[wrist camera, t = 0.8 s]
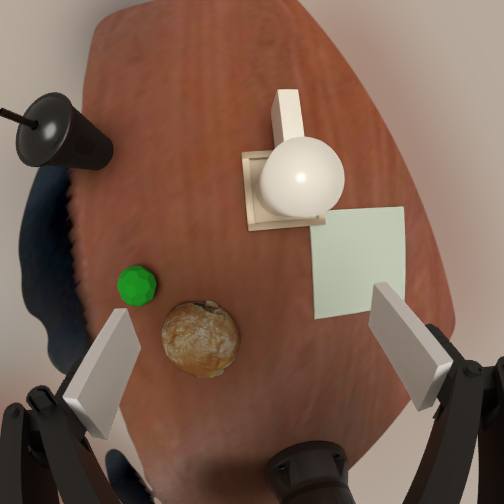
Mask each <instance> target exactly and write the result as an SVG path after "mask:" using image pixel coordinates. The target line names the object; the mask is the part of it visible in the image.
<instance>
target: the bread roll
mask: <svg viewBox="0 0 504 504" xmlns="http://www.w3.org/2000/svg"><path fill="white" fill-rule="evenodd" d="M162 342H163V346H164V349H165V352H166V355H167V357H168V358H169V360H170V361H171V362H172V363H173V364H174V365H175V366H176V367H177V368H178V369H179V370H181V371H183V372H185V373H188V374H190V375H192V376H194V377H196V378H213V377H214V376H219V375H220V374H222V373H223V372H224V371H225V369H224V368H225V367H227V366H229V365H230V364H231V363H232V362H233V360H234V359H235V358H236V353H237V351H238V348H239V343H240V335H239V332H238V330H237V328H236V325H235V323H234V321H233V320H232V318H231V317H230V315H229V314H228V313H227V312H226V311H224V310H223V309H222V308H221V307H220V308H219V307H218V305H217V304H216V303H214V302H212V301H207V300H206V302H205V303H202V302H192V303H189V302H187V303H184V304H180V305H178V306H176V307H175V308H174V309H172V310H171V311H170V313H169V314H168V315H167V317H166V319H165V321H164V324H163V327H162Z"/></svg>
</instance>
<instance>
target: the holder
mask: <svg viewBox="0 0 504 504" xmlns="http://www.w3.org/2000/svg"><path fill="white" fill-rule="evenodd" d="M272 152H273V150H270V151H254V152H242V155H241V156H242V167H243V179H244V190H245V201H246V213H247V224H248V231H254V230H266V229H277V228H289V227H301V226H314V225H326V221H325V213H323V214H320V215H317V216H316V217H317V218H315V219H309V217H280V216H275V215H273V214H271V213H269V212H267V211H266V210H265V209H264V208H263V207H262V206H261V205H260V203H259V201H258V199H257V196H256V190H255V187H256V181H257V178H258V176H259V174H260V173H261V171H262V169H263V167H264V165H265V164H266V162H267V160H268V158H269V157H270V155H271V153H272Z"/></svg>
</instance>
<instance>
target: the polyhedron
mask: <svg viewBox="0 0 504 504" xmlns="http://www.w3.org/2000/svg"><path fill="white" fill-rule="evenodd" d="M156 284H157V283H156V281H155V278H154V275H153V274H152V273H151V272H150V271H148V270H147V269H146V268H144V267H142V266H131V267H129V268H127V269H125V270H124V271H123V272H122V273H121V275H120V277H119V281H118V285H117V287H118V290H119V293H120V295H121V298H122V300H123V301H125V302H126V303H127V304H129V305H132V306H143V305H145V304H147V303H148V302H149V301H151V300H152V299H153V296H154V292H155V288H156Z"/></svg>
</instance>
